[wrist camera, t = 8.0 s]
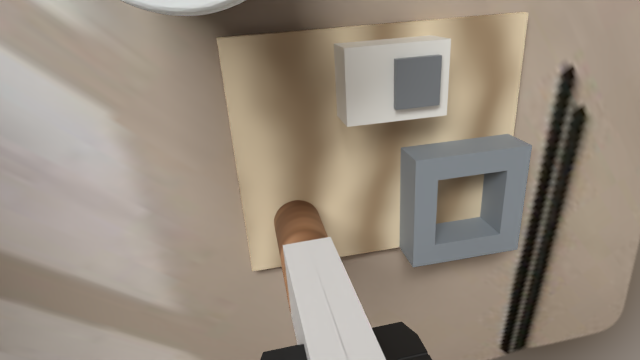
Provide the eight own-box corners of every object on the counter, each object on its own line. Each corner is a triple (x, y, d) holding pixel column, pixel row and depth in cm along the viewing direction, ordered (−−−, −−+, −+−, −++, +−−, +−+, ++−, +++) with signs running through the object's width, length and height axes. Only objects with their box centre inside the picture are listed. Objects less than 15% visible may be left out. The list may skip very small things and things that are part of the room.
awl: (276, 243, 34) (302, 389, 21) (271, 203, 33) (296, 333, 20) (320, 237, 35) (371, 374, 22) (317, 197, 33) (370, 319, 20)
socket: (399, 247, 36) (412, 267, 34) (400, 147, 33) (416, 160, 30) (496, 231, 38) (517, 249, 35) (508, 133, 34) (531, 145, 31)
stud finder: (337, 115, 31) (349, 128, 28) (333, 43, 29) (346, 49, 26) (428, 105, 32) (449, 117, 29) (431, 35, 30) (454, 39, 27)
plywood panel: (251, 264, 36) (252, 271, 35) (216, 37, 28) (216, 38, 27) (495, 225, 39) (501, 230, 38) (520, 12, 32) (528, 12, 31)
